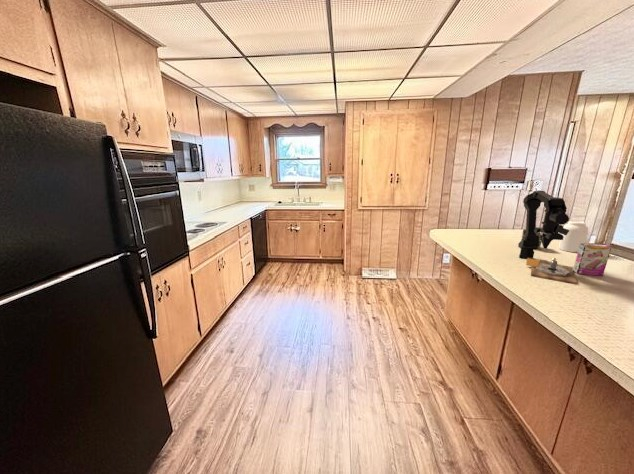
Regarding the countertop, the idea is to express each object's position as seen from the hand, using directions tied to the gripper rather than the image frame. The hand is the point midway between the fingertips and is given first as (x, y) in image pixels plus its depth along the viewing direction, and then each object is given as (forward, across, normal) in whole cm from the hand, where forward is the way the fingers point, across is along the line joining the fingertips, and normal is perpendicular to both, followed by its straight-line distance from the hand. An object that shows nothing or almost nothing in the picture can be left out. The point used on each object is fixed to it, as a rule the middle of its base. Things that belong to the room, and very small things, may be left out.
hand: (545, 248), depth 150 cm
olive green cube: (+12, +47, -11) cm, 49 cm away
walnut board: (+12, -5, -3) cm, 14 cm away
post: (+12, -6, -3) cm, 14 cm away
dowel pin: (+12, +5, -7) cm, 15 cm away
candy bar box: (+13, -1, -21) cm, 24 cm away
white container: (+12, +46, -34) cm, 58 cm away
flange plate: (+11, -4, -1) cm, 12 cm away
